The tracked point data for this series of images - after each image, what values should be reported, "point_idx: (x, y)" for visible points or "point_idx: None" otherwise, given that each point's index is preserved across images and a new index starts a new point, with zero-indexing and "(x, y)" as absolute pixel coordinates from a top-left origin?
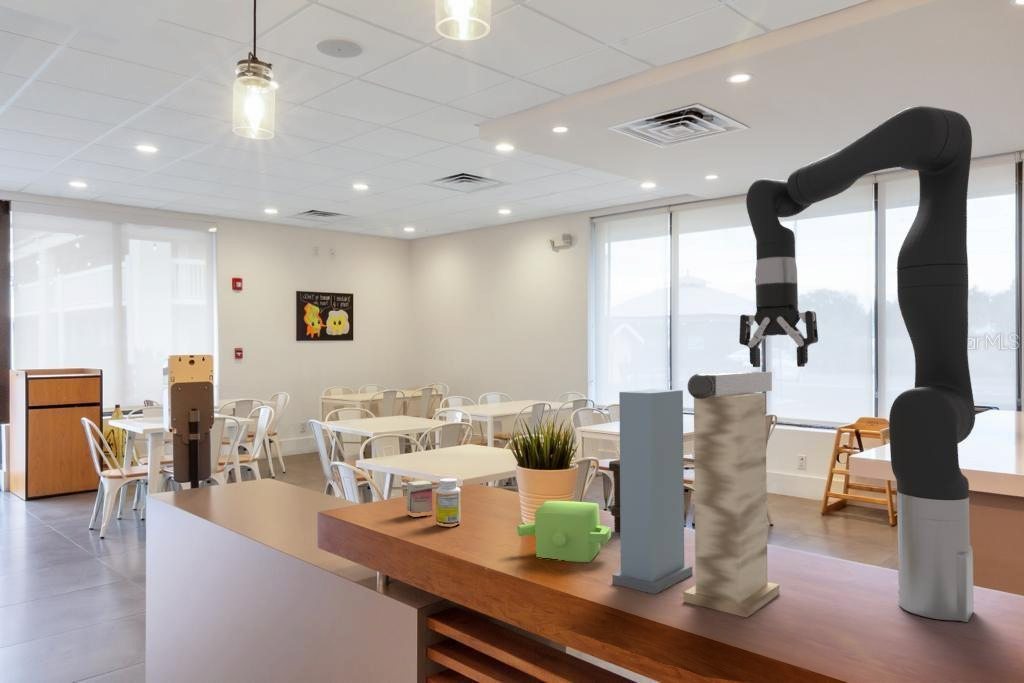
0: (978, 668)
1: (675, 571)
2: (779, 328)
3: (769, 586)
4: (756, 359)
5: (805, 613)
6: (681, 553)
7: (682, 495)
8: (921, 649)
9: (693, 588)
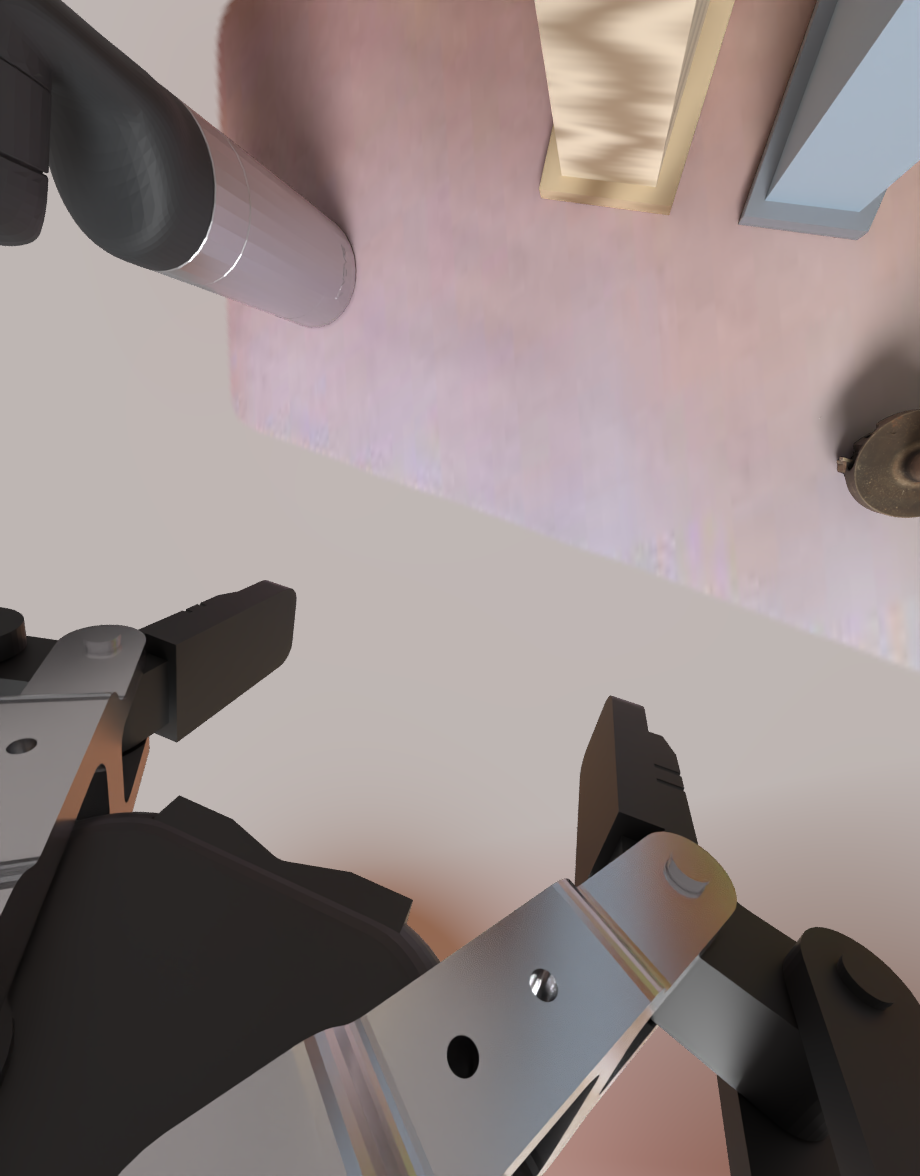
0: (251, 3)
1: (785, 133)
2: (135, 904)
3: (556, 158)
4: (608, 740)
5: (487, 100)
6: (783, 164)
7: (855, 65)
8: (316, 34)
9: (724, 10)
